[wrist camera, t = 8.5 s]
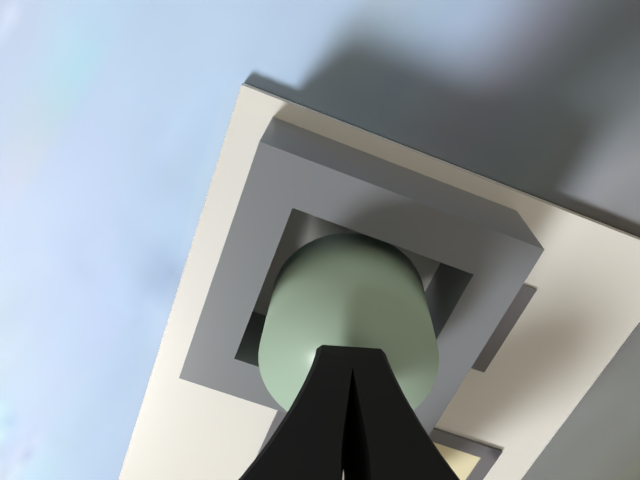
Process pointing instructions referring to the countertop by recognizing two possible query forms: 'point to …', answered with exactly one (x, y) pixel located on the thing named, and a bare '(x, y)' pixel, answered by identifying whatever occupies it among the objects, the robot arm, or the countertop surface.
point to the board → (505, 342)
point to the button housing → (375, 221)
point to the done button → (348, 314)
